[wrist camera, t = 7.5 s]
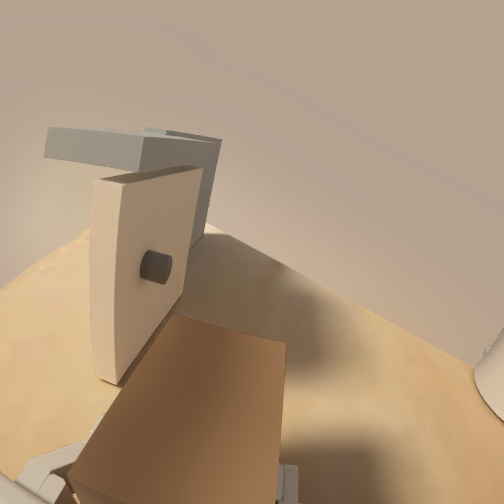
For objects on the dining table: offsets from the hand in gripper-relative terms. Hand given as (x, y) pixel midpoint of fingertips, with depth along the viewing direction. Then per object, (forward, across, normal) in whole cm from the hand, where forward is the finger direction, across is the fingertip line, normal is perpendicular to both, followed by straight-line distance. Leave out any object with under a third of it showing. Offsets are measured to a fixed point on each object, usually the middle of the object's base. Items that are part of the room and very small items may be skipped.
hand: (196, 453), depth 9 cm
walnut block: (-1, 0, +5) cm, 5 cm away
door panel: (+13, +6, +5) cm, 15 cm away
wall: (+23, +8, +5) cm, 25 cm away
